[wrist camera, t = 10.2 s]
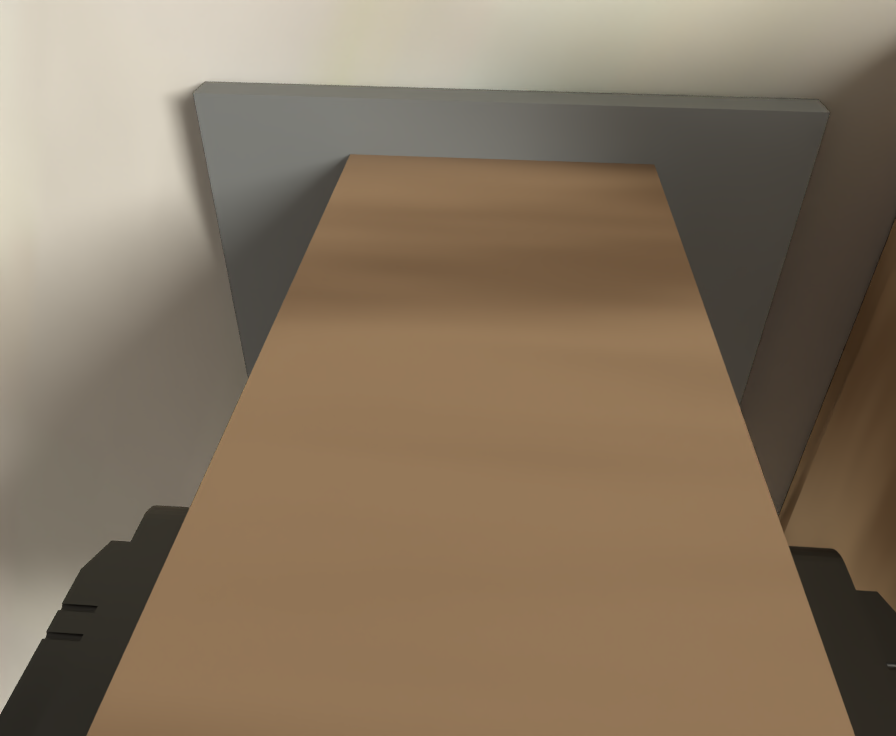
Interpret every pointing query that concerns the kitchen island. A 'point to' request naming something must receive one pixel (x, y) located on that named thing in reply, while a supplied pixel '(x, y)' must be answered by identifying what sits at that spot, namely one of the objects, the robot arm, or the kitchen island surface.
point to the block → (483, 489)
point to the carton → (855, 449)
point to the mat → (513, 138)
